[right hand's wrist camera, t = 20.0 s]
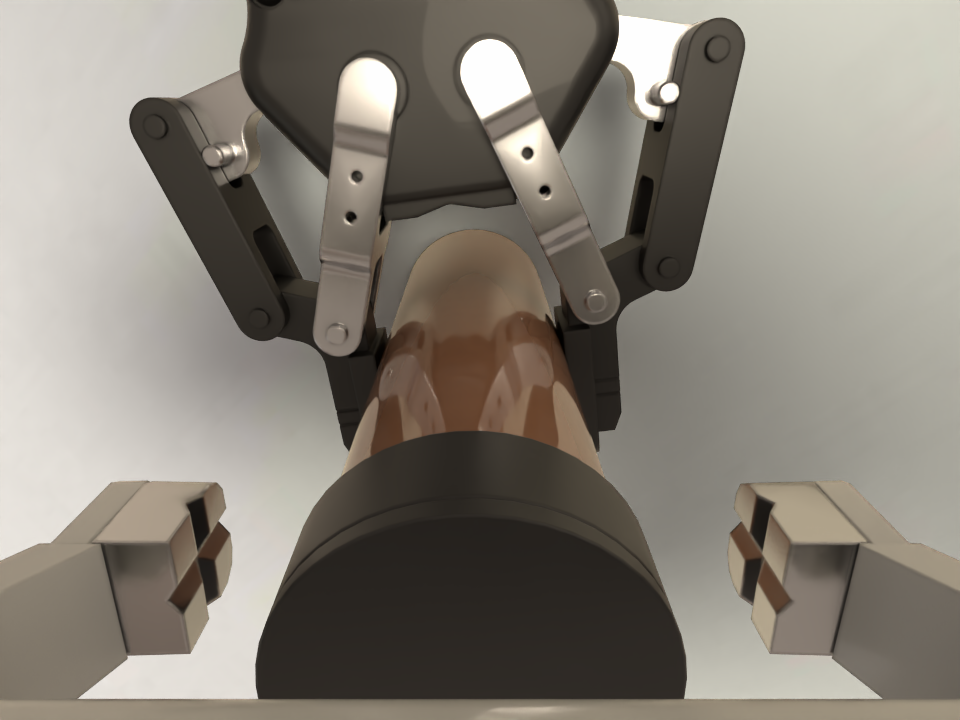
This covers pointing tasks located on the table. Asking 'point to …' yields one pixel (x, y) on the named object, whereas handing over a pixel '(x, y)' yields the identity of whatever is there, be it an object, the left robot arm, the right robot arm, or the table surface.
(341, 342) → the left robot arm
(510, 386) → the jar
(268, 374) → the table surface
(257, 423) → the table surface
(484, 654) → the lid
